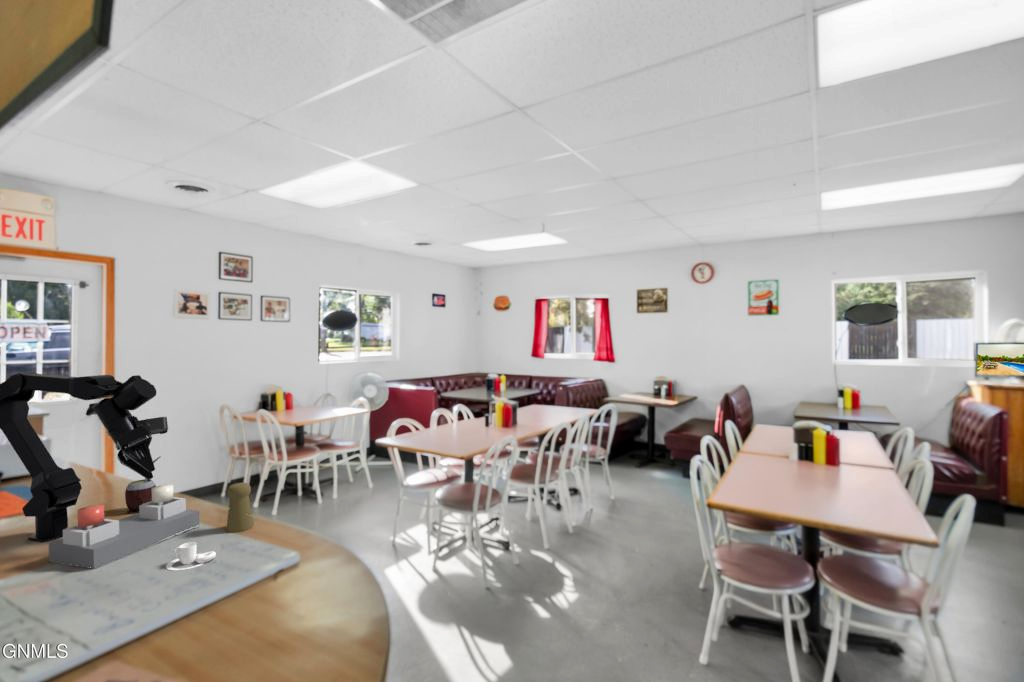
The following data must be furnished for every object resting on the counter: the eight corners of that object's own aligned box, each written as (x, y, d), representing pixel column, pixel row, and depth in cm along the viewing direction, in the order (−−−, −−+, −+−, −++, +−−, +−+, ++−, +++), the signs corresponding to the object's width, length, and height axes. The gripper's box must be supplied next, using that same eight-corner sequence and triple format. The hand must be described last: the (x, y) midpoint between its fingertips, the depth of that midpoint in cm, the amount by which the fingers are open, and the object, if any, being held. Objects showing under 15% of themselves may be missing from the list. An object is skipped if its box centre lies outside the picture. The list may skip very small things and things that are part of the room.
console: (49, 561, 107) (48, 528, 107) (158, 521, 130) (158, 494, 130) (94, 569, 103) (93, 535, 103) (199, 526, 125) (198, 498, 125)
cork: (241, 533, 120) (240, 487, 120) (220, 531, 122) (219, 486, 122) (259, 523, 126) (258, 480, 126) (238, 522, 127) (237, 480, 127)
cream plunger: (147, 501, 122) (147, 488, 122) (165, 496, 127) (164, 483, 127) (160, 503, 121) (160, 490, 121) (177, 497, 125) (177, 485, 125)
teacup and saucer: (222, 558, 107) (222, 539, 107) (187, 575, 99) (187, 555, 99) (192, 554, 110) (192, 535, 110) (156, 570, 102) (156, 550, 102)
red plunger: (73, 525, 107) (72, 510, 107) (95, 518, 111) (95, 504, 111) (86, 527, 106) (86, 512, 106) (109, 520, 110) (108, 505, 110)
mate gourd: (124, 510, 140) (123, 457, 140) (158, 503, 145) (157, 452, 145) (127, 516, 134) (125, 461, 134) (162, 509, 140) (161, 456, 140)
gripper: (157, 393, 119) (191, 448, 119) (153, 415, 133) (184, 464, 133) (102, 415, 112) (138, 474, 111) (104, 436, 125) (136, 489, 125)
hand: (151, 474), depth 120 cm, fingers open, 9 cm apart
